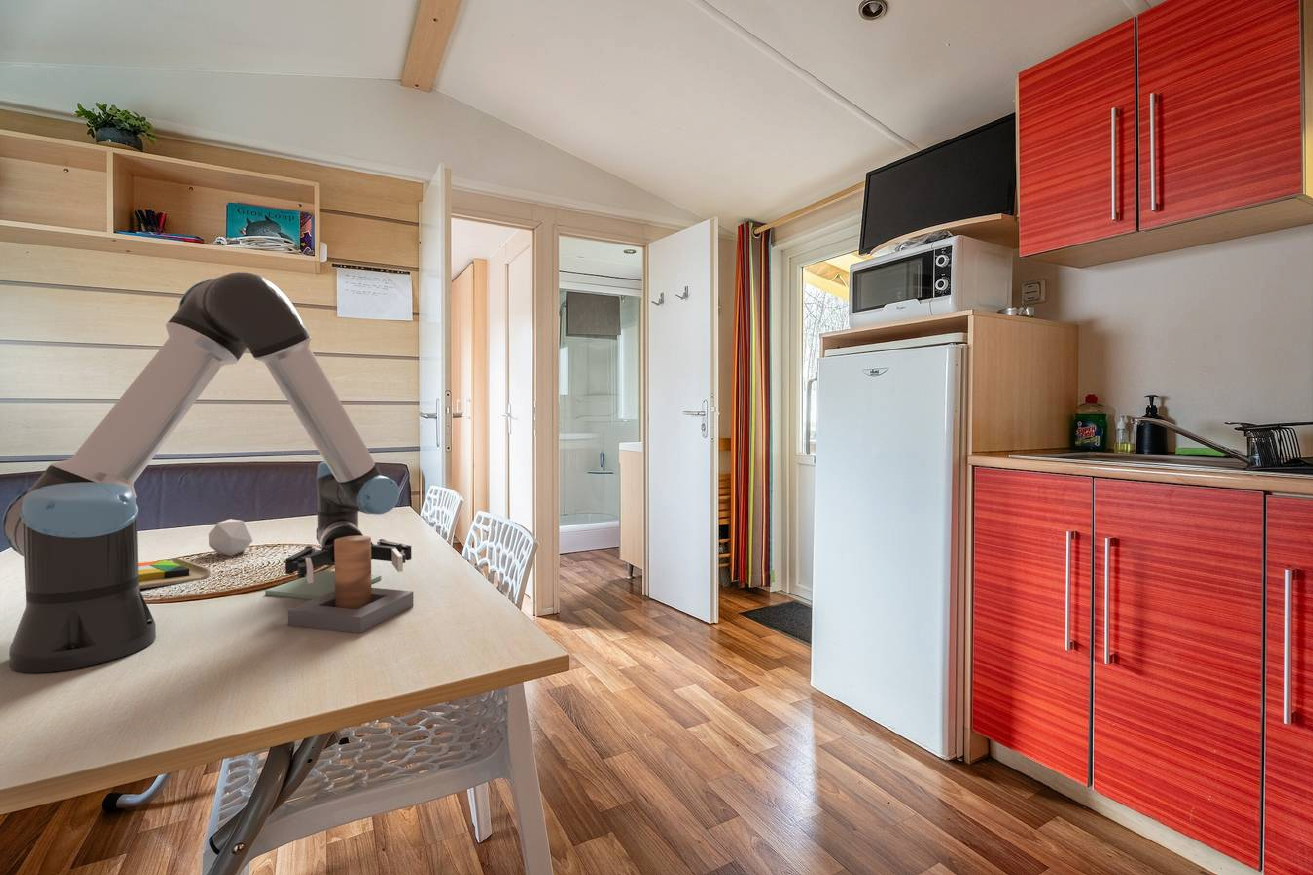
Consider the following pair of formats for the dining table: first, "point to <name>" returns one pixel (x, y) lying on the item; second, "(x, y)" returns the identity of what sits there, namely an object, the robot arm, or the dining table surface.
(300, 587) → the board
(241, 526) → the die
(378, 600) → the pocket plate
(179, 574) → the wooden puzzle
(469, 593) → the dining table surface
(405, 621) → the dining table surface
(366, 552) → the brown wooden cylinder
